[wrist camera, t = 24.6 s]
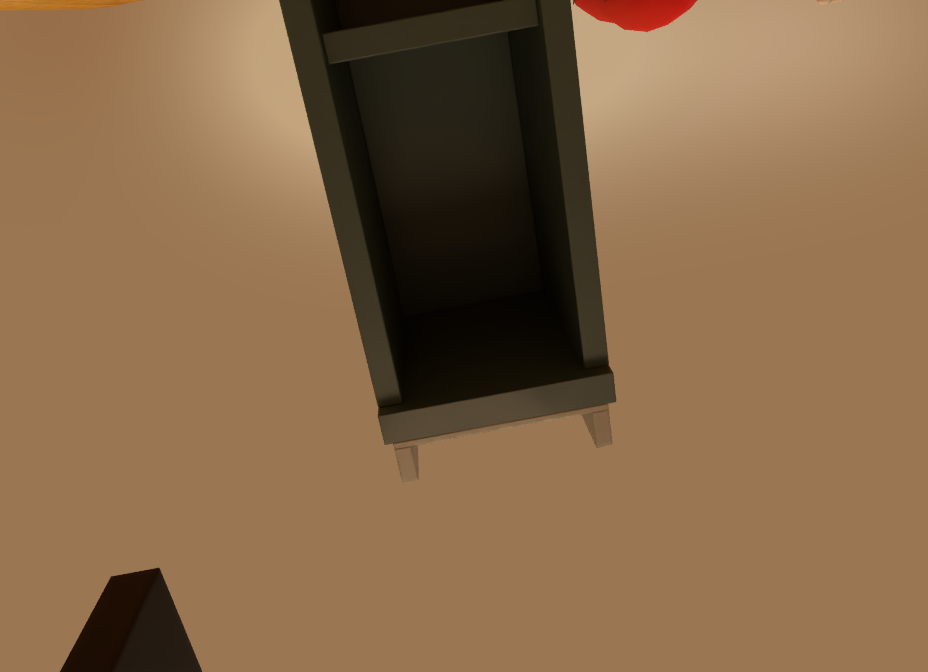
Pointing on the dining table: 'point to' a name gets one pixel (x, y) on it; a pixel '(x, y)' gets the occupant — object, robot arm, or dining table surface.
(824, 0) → the teacup with lid
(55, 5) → the dining table surface
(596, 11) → the tomato
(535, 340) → the stand
